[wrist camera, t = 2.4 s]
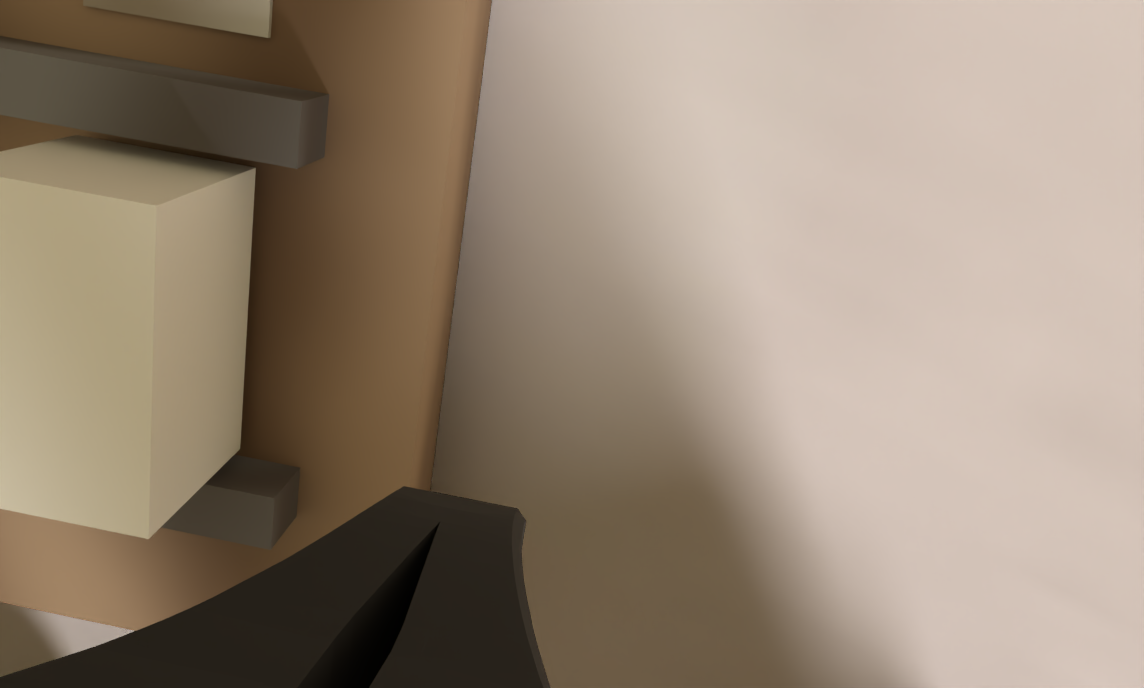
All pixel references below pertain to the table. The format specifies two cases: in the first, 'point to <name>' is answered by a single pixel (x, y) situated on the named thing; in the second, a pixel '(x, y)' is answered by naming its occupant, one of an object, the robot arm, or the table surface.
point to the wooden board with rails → (271, 258)
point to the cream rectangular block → (119, 328)
